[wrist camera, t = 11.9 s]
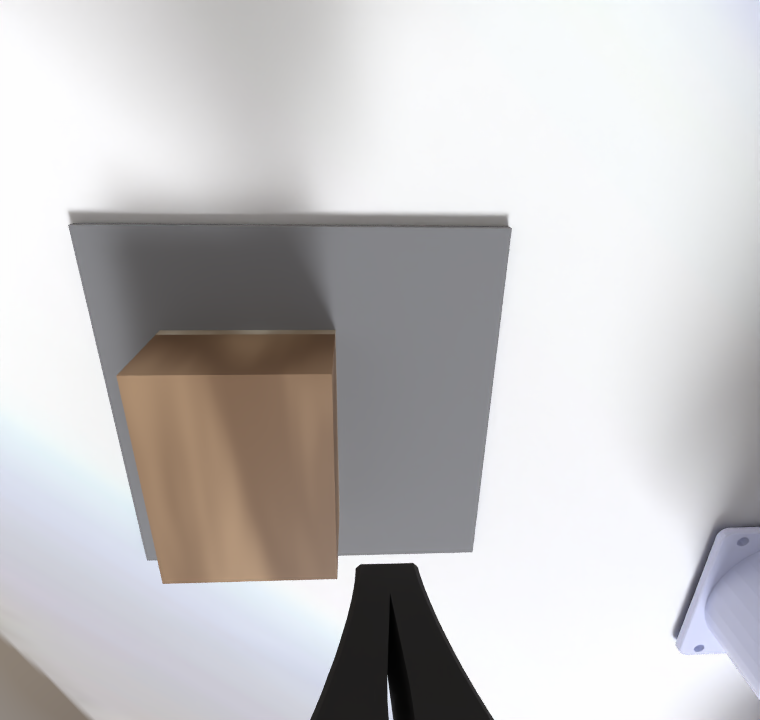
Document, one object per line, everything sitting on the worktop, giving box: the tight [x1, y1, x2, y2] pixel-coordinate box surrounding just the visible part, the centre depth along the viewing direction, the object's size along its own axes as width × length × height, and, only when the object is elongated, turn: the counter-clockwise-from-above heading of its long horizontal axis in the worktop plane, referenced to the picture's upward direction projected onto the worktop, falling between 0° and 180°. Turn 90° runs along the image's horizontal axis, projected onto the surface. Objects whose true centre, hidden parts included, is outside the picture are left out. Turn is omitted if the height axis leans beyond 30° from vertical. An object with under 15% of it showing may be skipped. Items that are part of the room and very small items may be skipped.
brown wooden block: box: [116, 330, 340, 584], centre depth 18 cm, size 4×8×6 cm
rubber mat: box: [68, 223, 512, 560], centre depth 19 cm, size 14×14×1 cm
